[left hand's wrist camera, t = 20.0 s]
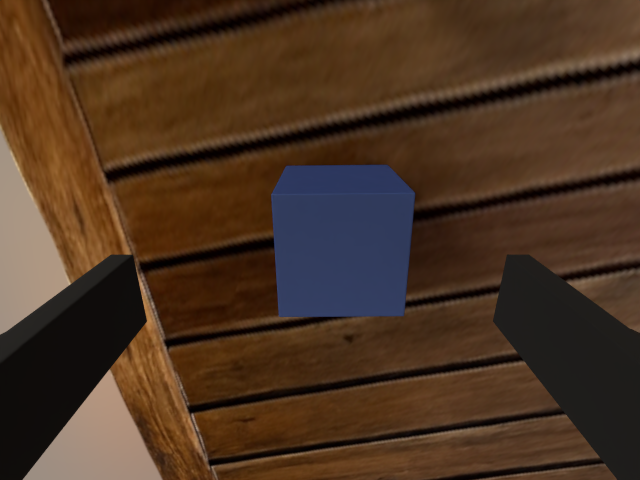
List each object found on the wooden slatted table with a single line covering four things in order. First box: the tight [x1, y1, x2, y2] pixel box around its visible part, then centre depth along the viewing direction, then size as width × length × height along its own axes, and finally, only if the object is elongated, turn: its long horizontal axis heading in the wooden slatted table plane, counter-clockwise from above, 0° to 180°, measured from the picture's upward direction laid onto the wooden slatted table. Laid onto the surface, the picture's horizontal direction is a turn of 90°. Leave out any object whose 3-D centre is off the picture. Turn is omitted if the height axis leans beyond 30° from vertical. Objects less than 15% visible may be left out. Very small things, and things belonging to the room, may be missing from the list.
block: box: [271, 165, 415, 317], centre depth 26 cm, size 8×8×9 cm
